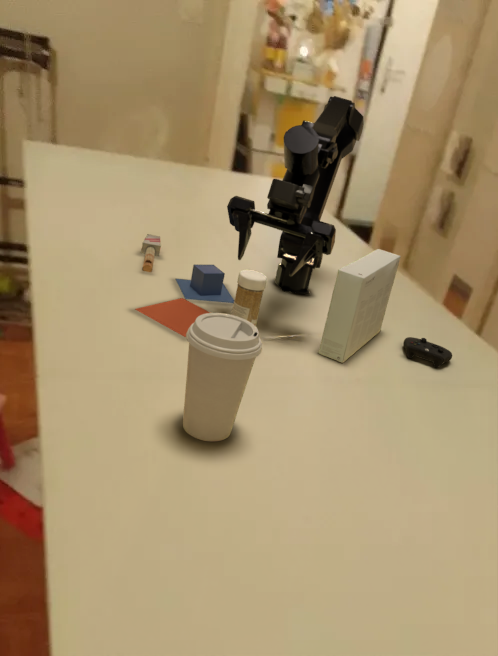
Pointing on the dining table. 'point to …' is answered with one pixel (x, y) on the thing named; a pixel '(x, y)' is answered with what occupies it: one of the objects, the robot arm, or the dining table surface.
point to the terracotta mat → (174, 314)
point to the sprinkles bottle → (249, 295)
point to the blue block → (207, 279)
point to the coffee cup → (217, 373)
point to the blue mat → (193, 295)
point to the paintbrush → (150, 250)
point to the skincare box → (358, 304)
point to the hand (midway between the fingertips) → (264, 266)
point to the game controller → (427, 351)
